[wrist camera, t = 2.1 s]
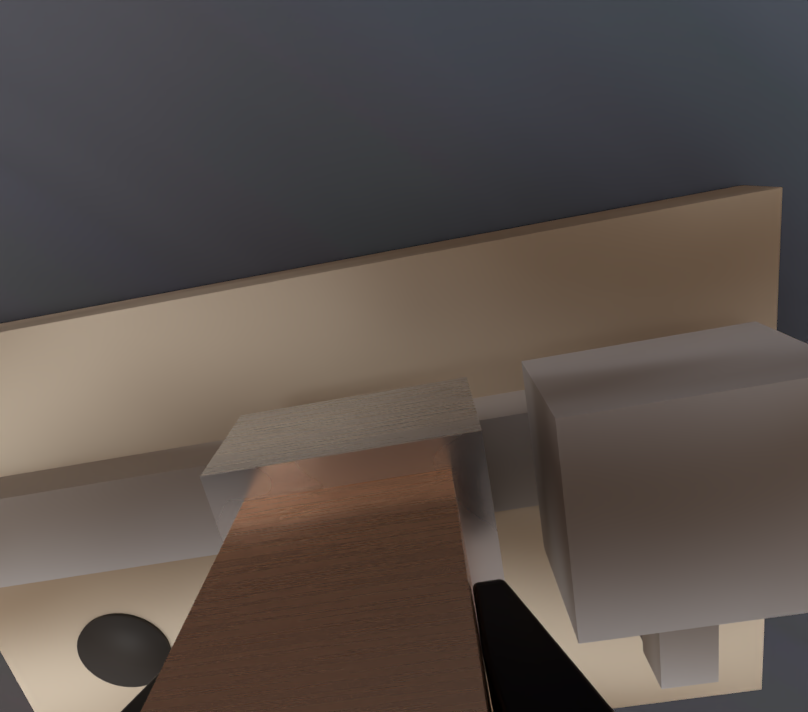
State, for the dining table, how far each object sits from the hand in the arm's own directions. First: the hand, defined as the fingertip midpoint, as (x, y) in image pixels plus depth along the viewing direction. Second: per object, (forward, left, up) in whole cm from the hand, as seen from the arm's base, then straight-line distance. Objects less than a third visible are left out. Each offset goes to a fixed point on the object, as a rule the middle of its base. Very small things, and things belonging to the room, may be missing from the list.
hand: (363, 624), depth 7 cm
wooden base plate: (-2, +1, -6) cm, 6 cm away
